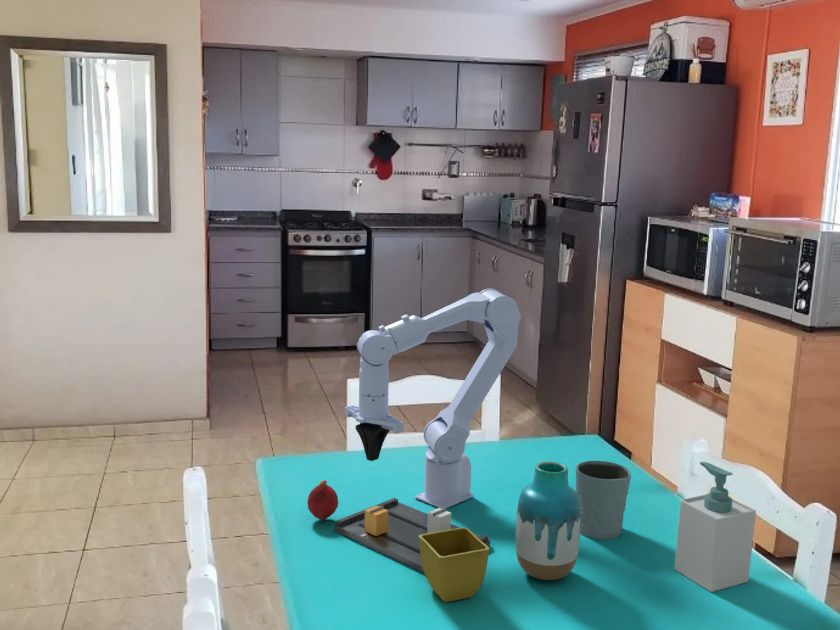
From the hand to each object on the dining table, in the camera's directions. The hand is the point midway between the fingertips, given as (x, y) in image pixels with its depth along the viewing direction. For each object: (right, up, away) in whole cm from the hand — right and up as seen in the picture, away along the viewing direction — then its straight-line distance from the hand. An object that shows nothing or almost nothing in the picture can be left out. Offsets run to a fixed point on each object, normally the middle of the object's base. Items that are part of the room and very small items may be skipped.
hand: (372, 459), depth 171 cm
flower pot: (+14, -17, -32) cm, 38 cm away
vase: (+30, -16, -25) cm, 42 cm away
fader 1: (+1, -11, -13) cm, 17 cm away
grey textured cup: (+43, -12, -7) cm, 45 cm away
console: (+8, -12, -13) cm, 19 cm away
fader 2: (+13, -11, -13) cm, 22 cm away
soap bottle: (+59, -16, -23) cm, 65 cm away
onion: (-9, -11, -6) cm, 15 cm away
